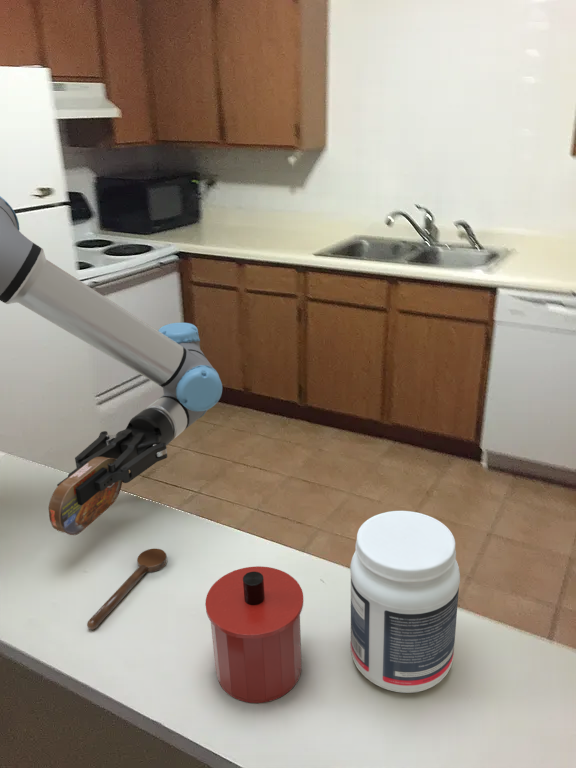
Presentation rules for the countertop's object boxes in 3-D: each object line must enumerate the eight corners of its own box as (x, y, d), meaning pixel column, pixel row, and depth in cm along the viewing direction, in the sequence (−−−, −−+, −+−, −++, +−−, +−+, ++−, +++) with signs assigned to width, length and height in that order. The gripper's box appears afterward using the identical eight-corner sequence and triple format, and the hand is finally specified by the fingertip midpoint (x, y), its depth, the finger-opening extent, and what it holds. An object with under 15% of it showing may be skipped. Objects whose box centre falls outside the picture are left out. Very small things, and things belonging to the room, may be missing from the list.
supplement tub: (467, 643, 86) (479, 525, 79) (429, 717, 76) (439, 590, 69) (376, 607, 93) (379, 495, 85) (331, 670, 83) (330, 550, 75)
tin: (65, 546, 98) (59, 499, 95) (48, 540, 99) (41, 493, 96) (126, 493, 111) (122, 449, 107) (110, 488, 112) (106, 445, 108)
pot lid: (187, 626, 77) (184, 598, 75) (233, 565, 87) (231, 538, 85) (280, 654, 73) (278, 625, 71) (317, 586, 82) (317, 559, 81)
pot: (201, 687, 81) (193, 621, 77) (240, 627, 90) (235, 564, 86) (281, 714, 77) (277, 646, 73) (313, 648, 86) (312, 584, 82)
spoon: (103, 636, 89) (101, 628, 89) (76, 627, 91) (75, 619, 90) (172, 557, 104) (171, 550, 103) (148, 551, 106) (147, 544, 105)
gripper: (196, 452, 118) (116, 526, 98) (122, 437, 124) (32, 505, 104) (193, 414, 115) (109, 483, 95) (117, 401, 121) (23, 463, 101)
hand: (69, 494), depth 100 cm, fingers closed on tin, 3 cm apart
